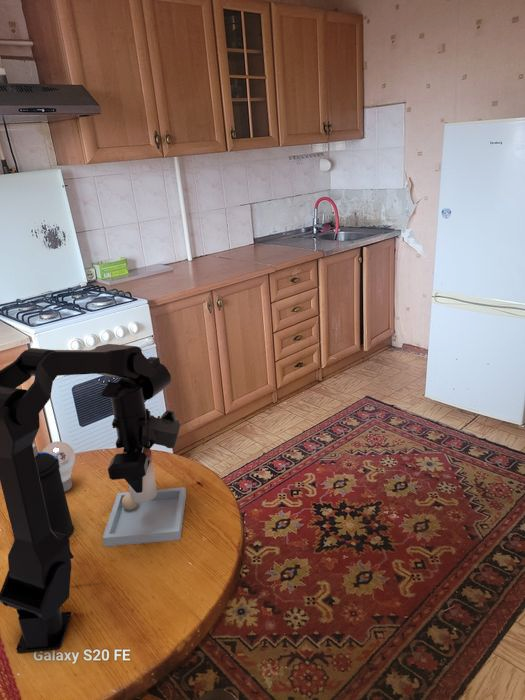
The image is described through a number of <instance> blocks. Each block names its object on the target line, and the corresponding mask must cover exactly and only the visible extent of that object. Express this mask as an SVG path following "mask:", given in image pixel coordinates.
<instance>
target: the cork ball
mask: <svg viewBox="0 0 525 700" xmlns="http://www.w3.org/2000/svg"><path fill="white" fill-rule="evenodd" d="M137 504H138V503H136V502H133V501H132V500H131V496H130V494H126V495H125V496H124V497H123V499H122V506H123V507H124V508H125V509H127V510H132V509H134V508H135V507H136V506H137Z"/></svg>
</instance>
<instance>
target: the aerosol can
mask: <svg viewBox="0 0 525 700" xmlns="http://www.w3.org/2000/svg"><path fill="white" fill-rule="evenodd" d="M33 450H34V455H35V459H36V464H37V469H38V473H39V478H40V482H41V487H42V492H43V496H44V501H45V506H46V510H47V515H48V519H49V524H50V528H51V531H53V532H57V533H61V534H65V535H67V536H68V538H69V539H70V537H72V535H73V534H74V532H75V525H74V524H73V521H72V517H71V512H70V509H69V504H68V501H67V500H68V499H67V496H66V492H65V491H64V487H63V483H62V479H61V475H60V470H59V466H58V464H59V460H58V458H57V457H56V456H54V455H51V454H49V453H46V452H42V451H38V449H37V445H36V443H33Z"/></svg>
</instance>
